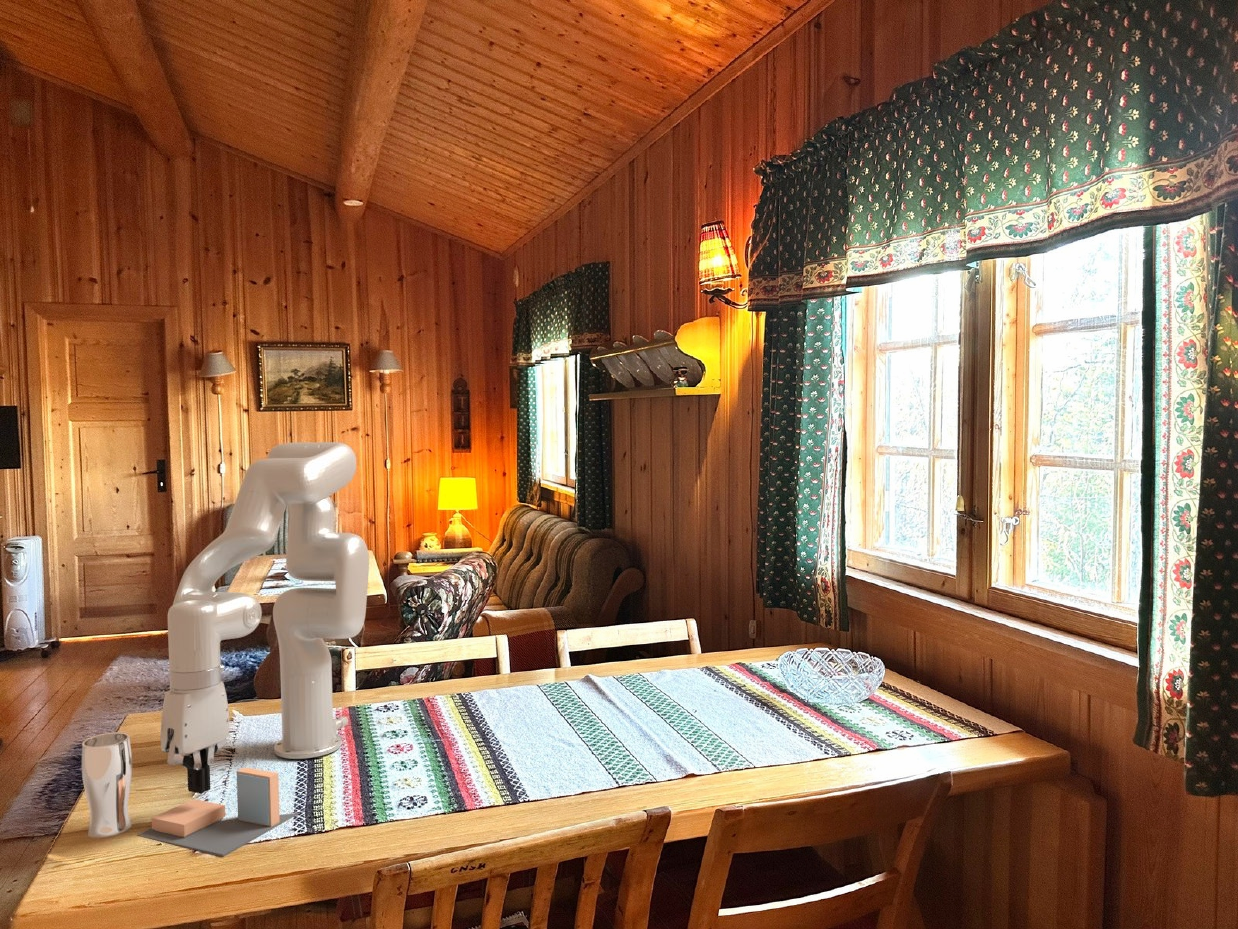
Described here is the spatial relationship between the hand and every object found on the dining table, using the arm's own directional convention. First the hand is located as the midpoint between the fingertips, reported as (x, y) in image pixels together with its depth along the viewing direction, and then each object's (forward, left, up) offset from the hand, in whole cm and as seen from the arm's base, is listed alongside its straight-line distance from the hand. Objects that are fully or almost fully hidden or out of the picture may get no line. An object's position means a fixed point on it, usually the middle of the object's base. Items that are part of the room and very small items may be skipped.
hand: (199, 790), depth 149 cm
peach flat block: (-3, +10, -5) cm, 11 cm away
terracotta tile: (-2, 0, -4) cm, 4 cm away
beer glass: (+8, -10, -6) cm, 14 cm away
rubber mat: (-1, +5, -5) cm, 7 cm away
